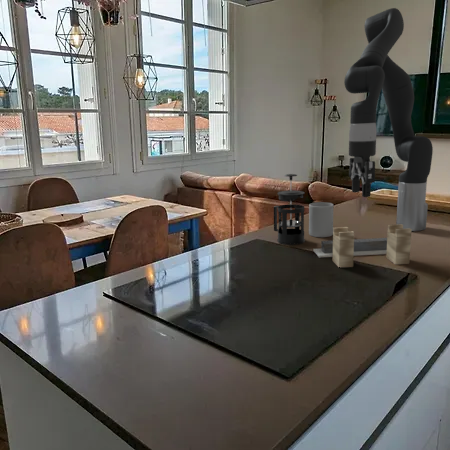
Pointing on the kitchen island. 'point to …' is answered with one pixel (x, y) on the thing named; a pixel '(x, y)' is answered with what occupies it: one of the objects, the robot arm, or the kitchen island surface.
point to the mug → (321, 219)
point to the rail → (359, 245)
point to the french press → (291, 234)
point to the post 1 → (343, 247)
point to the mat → (321, 254)
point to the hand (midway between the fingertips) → (360, 194)
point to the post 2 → (398, 244)
